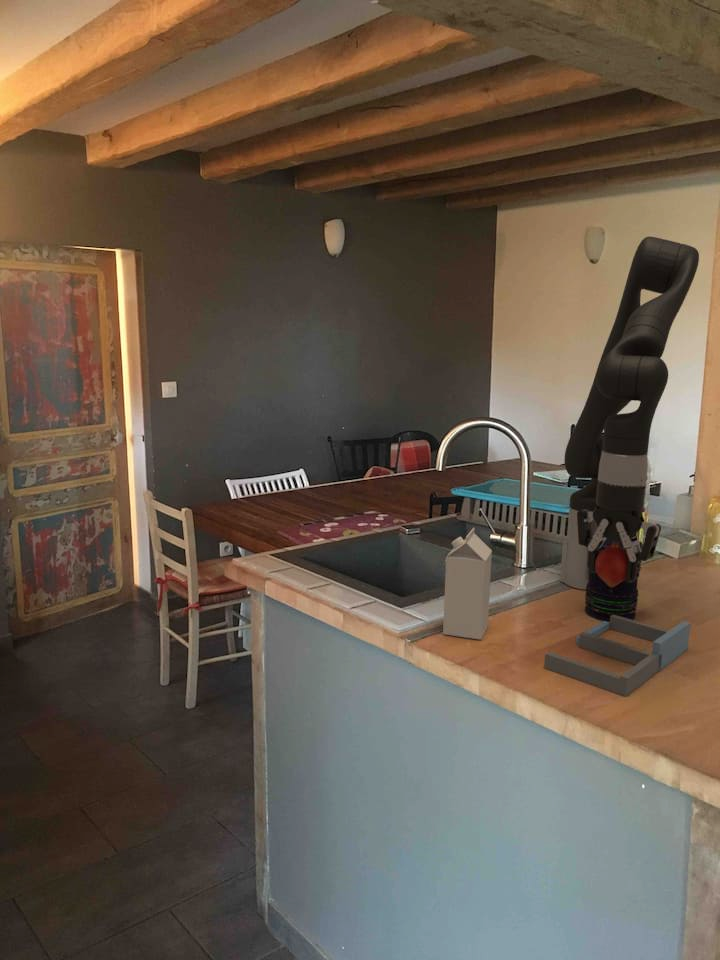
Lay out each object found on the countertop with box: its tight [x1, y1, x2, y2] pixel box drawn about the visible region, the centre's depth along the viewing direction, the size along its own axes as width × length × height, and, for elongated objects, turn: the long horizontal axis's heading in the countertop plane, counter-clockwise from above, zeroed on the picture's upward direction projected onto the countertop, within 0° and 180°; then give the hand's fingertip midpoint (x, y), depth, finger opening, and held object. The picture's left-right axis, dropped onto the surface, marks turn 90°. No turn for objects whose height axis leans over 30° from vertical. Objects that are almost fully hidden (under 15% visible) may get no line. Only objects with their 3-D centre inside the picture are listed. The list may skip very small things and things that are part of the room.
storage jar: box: [584, 538, 643, 623], centre depth 152 cm, size 10×10×15 cm
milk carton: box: [442, 527, 493, 640], centre depth 141 cm, size 7×7×19 cm
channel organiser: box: [543, 615, 691, 697], centre depth 132 cm, size 15×25×5 cm, turn 137°
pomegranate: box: [595, 542, 629, 587], centre depth 129 cm, size 6×6×8 cm
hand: (612, 576), depth 129 cm, fingers closed on pomegranate, 6 cm apart
